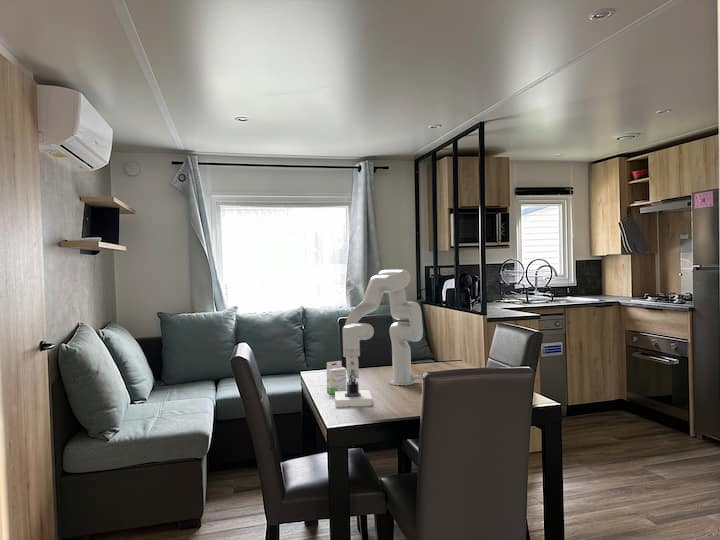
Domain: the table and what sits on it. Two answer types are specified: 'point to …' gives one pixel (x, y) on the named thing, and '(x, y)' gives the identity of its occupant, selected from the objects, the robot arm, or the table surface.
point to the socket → (353, 399)
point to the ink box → (336, 377)
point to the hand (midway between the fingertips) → (352, 390)
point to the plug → (352, 393)
